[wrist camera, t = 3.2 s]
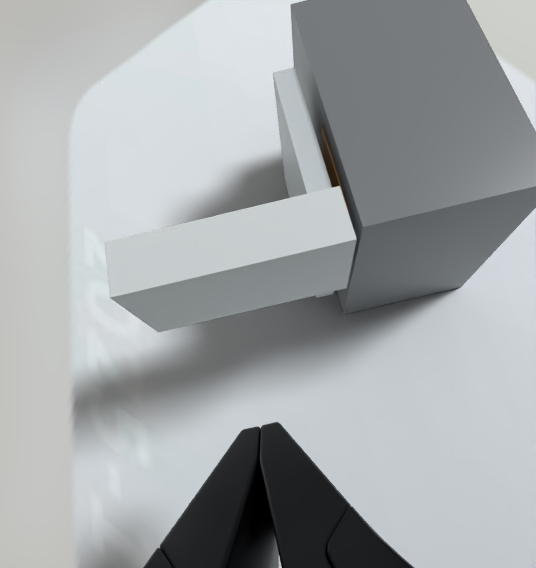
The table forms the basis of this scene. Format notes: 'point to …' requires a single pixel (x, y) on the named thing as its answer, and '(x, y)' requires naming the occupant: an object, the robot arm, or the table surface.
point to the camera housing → (414, 140)
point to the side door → (244, 242)
